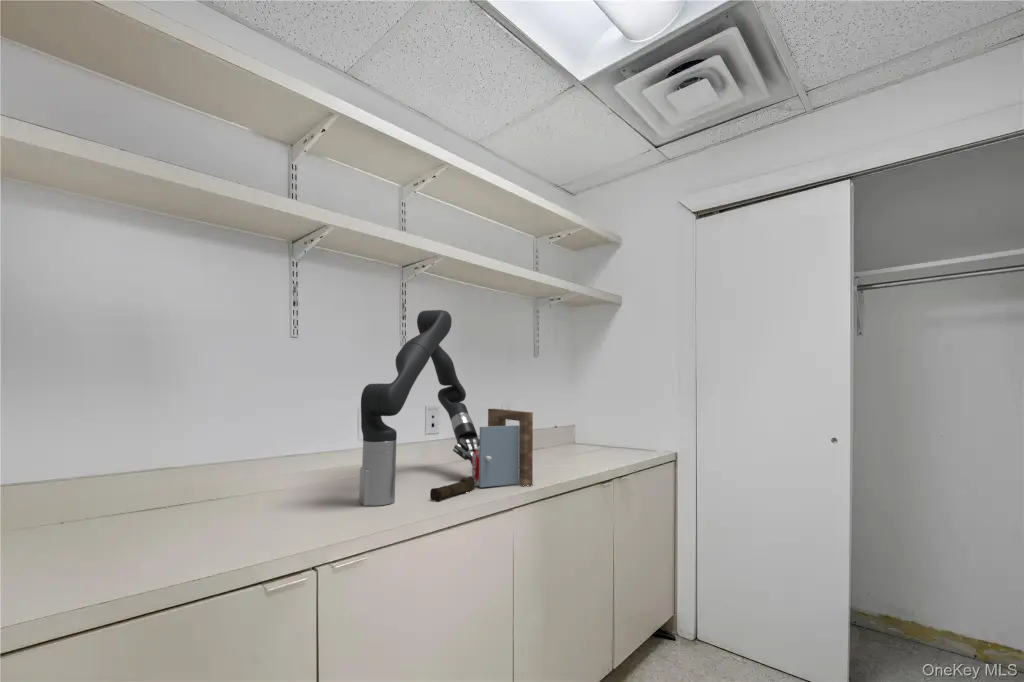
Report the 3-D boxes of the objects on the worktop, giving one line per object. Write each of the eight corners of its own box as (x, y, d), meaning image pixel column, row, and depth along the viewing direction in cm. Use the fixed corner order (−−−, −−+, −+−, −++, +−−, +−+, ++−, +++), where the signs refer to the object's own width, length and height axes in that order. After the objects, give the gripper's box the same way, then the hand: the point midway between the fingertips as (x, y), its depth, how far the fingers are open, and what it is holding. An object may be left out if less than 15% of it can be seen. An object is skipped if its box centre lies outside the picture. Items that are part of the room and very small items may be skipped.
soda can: (487, 488, 159) (487, 450, 160) (468, 486, 162) (468, 449, 163) (497, 484, 165) (497, 447, 166) (478, 482, 168) (478, 446, 169)
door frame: (524, 486, 162) (525, 412, 164) (487, 473, 185) (488, 408, 187) (532, 485, 163) (532, 412, 165) (494, 472, 187) (495, 408, 189)
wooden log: (439, 503, 140) (439, 486, 140) (429, 501, 142) (429, 484, 143) (481, 491, 155) (481, 476, 156) (471, 490, 158) (471, 475, 158)
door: (516, 482, 166) (517, 425, 167) (521, 484, 163) (521, 426, 165) (478, 486, 159) (479, 426, 160) (482, 488, 156) (483, 427, 158)
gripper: (449, 422, 174) (463, 462, 163) (483, 420, 181) (498, 459, 169) (443, 435, 178) (456, 476, 167) (476, 434, 185) (491, 472, 173)
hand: (477, 467), depth 168 cm, fingers closed
